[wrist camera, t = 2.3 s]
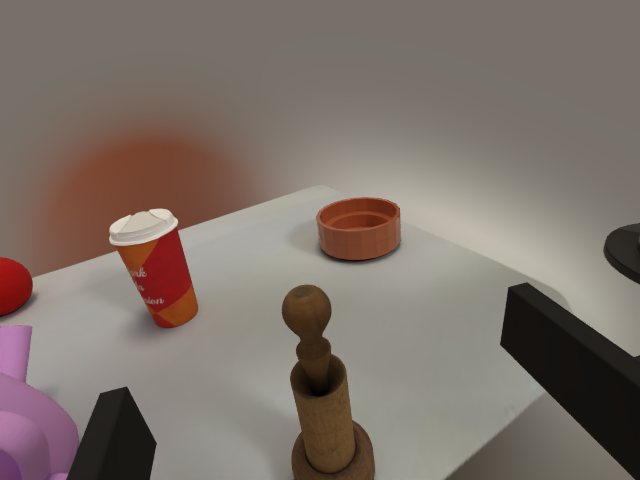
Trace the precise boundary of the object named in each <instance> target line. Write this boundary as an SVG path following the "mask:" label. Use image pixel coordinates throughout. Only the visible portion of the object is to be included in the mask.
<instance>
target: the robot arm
mask: <svg viewBox="0 0 640 480" xmlns="http://www.w3.org/2000/svg"><path fill="white" fill-rule="evenodd" d="M637 248H638V250H639V252H640V236H639V239H638V242H637ZM500 345H501V346H502V347H503V348H504V349H505V350H506V351H507V352H508V353H509V354H510V355H511V356H512V357H513V358H514V359H515V360H516V361H517V362H518V363H519V364H520V365H521V366H522V367H523V368H524V369H525V370H526V371H527V372H528V373H529V374H530V375H531V376H532V377H533V378H534V379H535V380H536V381H537V382H538V383H539V384H540V385H541V386H542V387H543V388H544V389H545V390H546V391H547V392H548V393H549V394H550V395H551V396H552V397H553V398H554V399H555V400H556V401H557V402H558V403H559V404H560V405H561V406H562V407H563V408H564V409H565V410H566V411H567V412H568V413H569V414H570V415H571V416H572V417H573V418H574V419H575V420H576V421H577V422H578V423H579V424H580V425H581V426H582V427H583V428H584V429H585V430H586V431H587V432H588V433H589V434H590V435H591V436H592V437H593V438H594V439H595V440H596V441H597V442H598V443H599V444H600V445H601V446H602V447H603V448H604V449H605V450H606V451H607V452H608V453H609V454H610V455H611V456H612V457H613V458H614V459H615V460H616V461H617V462H618V463H619V464H620V465H621V466H622V467H623V468H624V469H625V470H626V471H627V472H628V473H629V474H630V475H631V476H632V477H633V478H634V479H635V480H640V355H639V356H636V357H633V356H631V355H630V354H628V353H627V352H626V351H624V350H623V349H621V348H620V347H618V346H617V345H616V344H614V343H613V342H611V341H610V340H608V339H607V338H606V337H604V336H603V335H601V334H600V333H598V332H597V331H596V330H594V329H593V328H591V327H590V326H588V325H587V324H586V323H584V322H583V321H581V320H580V319H579V318H577V317H576V316H574V315H573V314H571V313H570V312H569V311H567V310H566V309H564V308H563V307H561V306H560V305H559V304H557V303H556V302H554V301H553V300H551V299H550V298H549V297H547V296H546V295H544V294H543V293H541V292H540V291H539V290H537V289H536V288H534V287H533V286H531V285H530V284H529V283H523V284H519V285H515V286H511V287H508V294H507V301H506V308H505V315H504V322H503V329H502V335H501V342H500ZM156 444H157V443H156V441H155V439H154V437H153V435H152V434H151V432H150V430H149V428H148V426H147V424H146V422H145V420H144V418H143V416H142V414H141V413H140V411H139V409H138V407H137V405H136V403H135V401H134V399H133V397H132V395H131V393H130V392H129V390H128V388H127V387H123V388H119V389H115V390H111V391H108V392H104V393H100V395H99V398H98V400H97V403H96V405H95V408H94V410H93V413H92V415H91V418H90V420H89V423H88V425H87V428H86V430H85V433H84V436H83V438H82V441H81V443H80V446H79V448H78V451H77V453H76V456H75V458H74V461H73V463H72V466H71V468H70V471H69V473H68V476H67V478H66V480H150V475H151V470H152V465H153V460H154V454H155V449H156Z"/></svg>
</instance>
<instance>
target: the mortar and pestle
mask: <svg viewBox="0 0 640 480" xmlns="http://www.w3.org/2000/svg"><path fill="white" fill-rule="evenodd" d="M282 315H283V319H284V321H285V323H286V325H287V326H288V327H289V328H290V329H291V330H292V331H293V332H294V333H295V334H296V335H298V336H299V337H300V343H299V344H298V345H297V348H296V354H297V357H298V359H299V361H298V362H297V363H296V365H295V366H294V367H293V369H292V372H291V376H290V381H291V386H292V390H293V394H294V398H295V403H296V407H297V411H298V416H299V420H300V425H301V429H302V432H301V433H300V435H299V436H298V438H297V439H296V442H295V444H294V447H293V451H292V469H293V473H294V478H295V480H373V479H374V472H375V464H374V455H373V448H372V444H371V441H370V438H369V436H368V434H367V433H366V431H365V430H364V429H363V428H362V427H361V426H360V425H359V424H358V423H356V422H354V421H353V420H352V416H351V408H350V399H349V391H348V383H347V374H346V368H345V366H344V364H343V362H342V361H341V360H340V359H339V358H338V357H336V356H335V355H333V354H331V345H330V343H329V341H328V340H327V339H325V338H323V337H322V333H323V331H324V330H325V328H326V326H327V324H328V322H329V320H330V317H331V303H330V300H329V298H328V296H327V295H326V294H325V292H324V291H322V290H321V289H320V288H318V287H316V286H313V285H301V286H298V287H296V288H294V289H292V290H291V291H290V292H289V293H288V294H287V295H286V297H285V299H284V301H283V305H282Z"/></svg>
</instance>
